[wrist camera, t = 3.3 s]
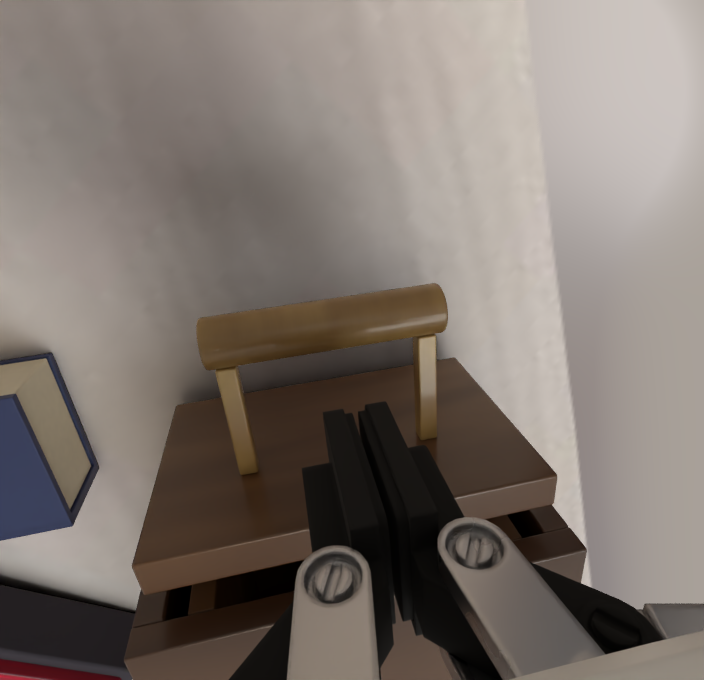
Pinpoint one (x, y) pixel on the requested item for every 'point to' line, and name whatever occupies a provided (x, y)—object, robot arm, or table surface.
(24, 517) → the book
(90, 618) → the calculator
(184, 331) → the table surface
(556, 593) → the robot arm
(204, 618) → the cabinet
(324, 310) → the drawer
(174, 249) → the table surface
